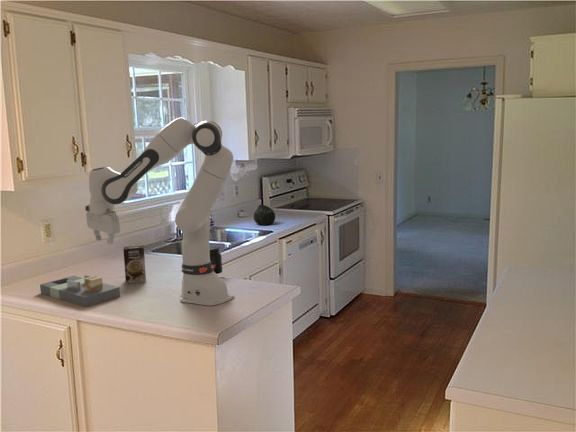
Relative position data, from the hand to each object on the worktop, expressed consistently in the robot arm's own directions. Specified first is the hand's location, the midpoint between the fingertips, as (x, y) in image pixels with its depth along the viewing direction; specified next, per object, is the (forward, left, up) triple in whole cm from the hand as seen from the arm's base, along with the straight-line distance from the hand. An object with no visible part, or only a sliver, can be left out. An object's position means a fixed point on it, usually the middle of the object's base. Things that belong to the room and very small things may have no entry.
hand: (104, 242), depth 216 cm
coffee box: (+14, -24, -25) cm, 37 cm away
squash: (+54, -165, -25) cm, 175 cm away
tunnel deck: (+18, +2, -24) cm, 30 cm away
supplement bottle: (-7, -54, -25) cm, 59 cm away
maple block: (+7, +2, -20) cm, 21 cm away
